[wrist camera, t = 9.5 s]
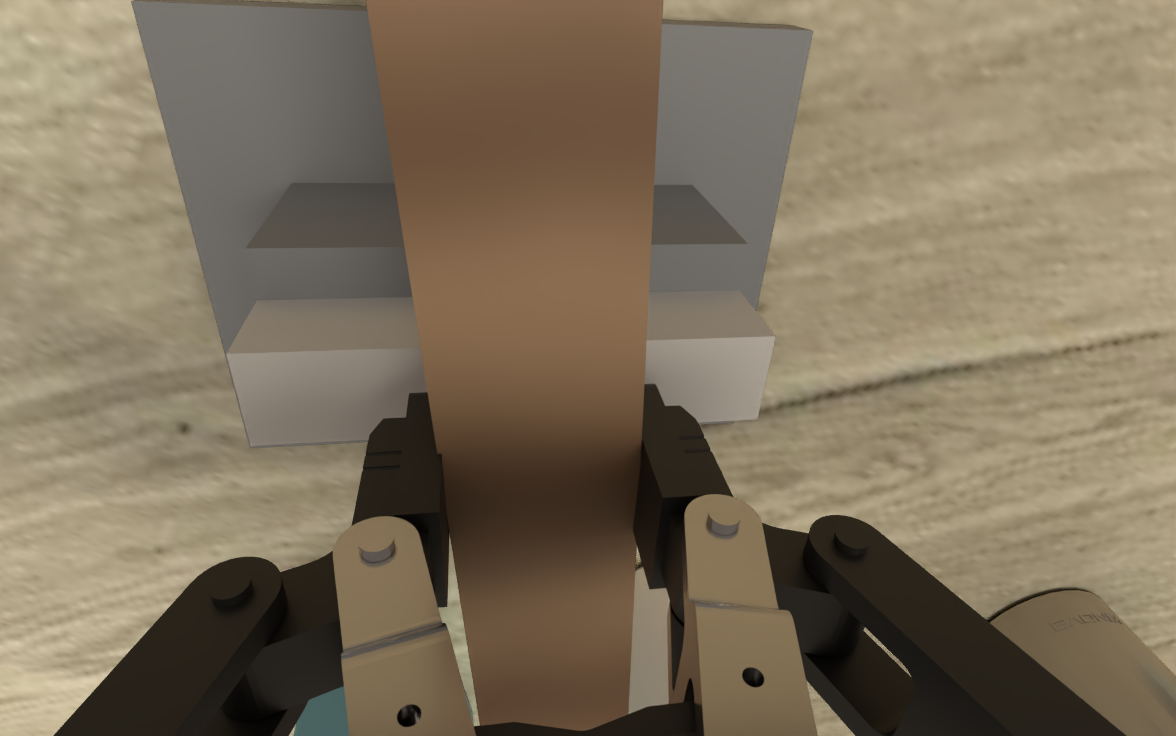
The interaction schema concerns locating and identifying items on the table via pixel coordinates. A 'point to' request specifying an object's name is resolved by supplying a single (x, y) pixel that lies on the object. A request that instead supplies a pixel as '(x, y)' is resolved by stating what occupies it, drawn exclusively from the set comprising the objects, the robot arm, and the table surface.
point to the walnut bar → (531, 321)
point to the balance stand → (372, 221)
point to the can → (648, 646)
